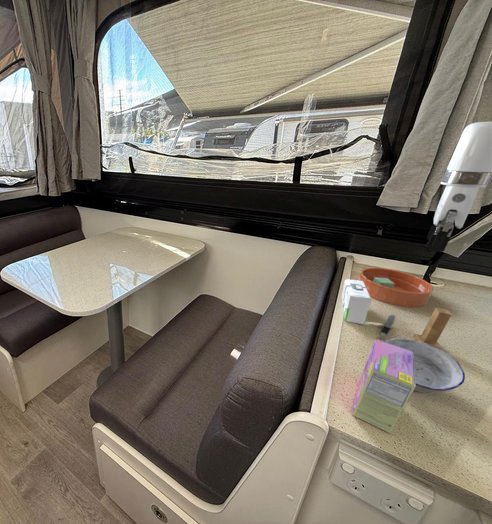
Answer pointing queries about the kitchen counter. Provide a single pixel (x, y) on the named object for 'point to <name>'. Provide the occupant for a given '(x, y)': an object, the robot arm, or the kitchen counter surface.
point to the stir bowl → (397, 287)
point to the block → (384, 282)
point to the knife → (386, 327)
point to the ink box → (355, 301)
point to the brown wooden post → (434, 328)
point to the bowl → (432, 366)
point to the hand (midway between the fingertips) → (434, 245)
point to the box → (384, 385)
